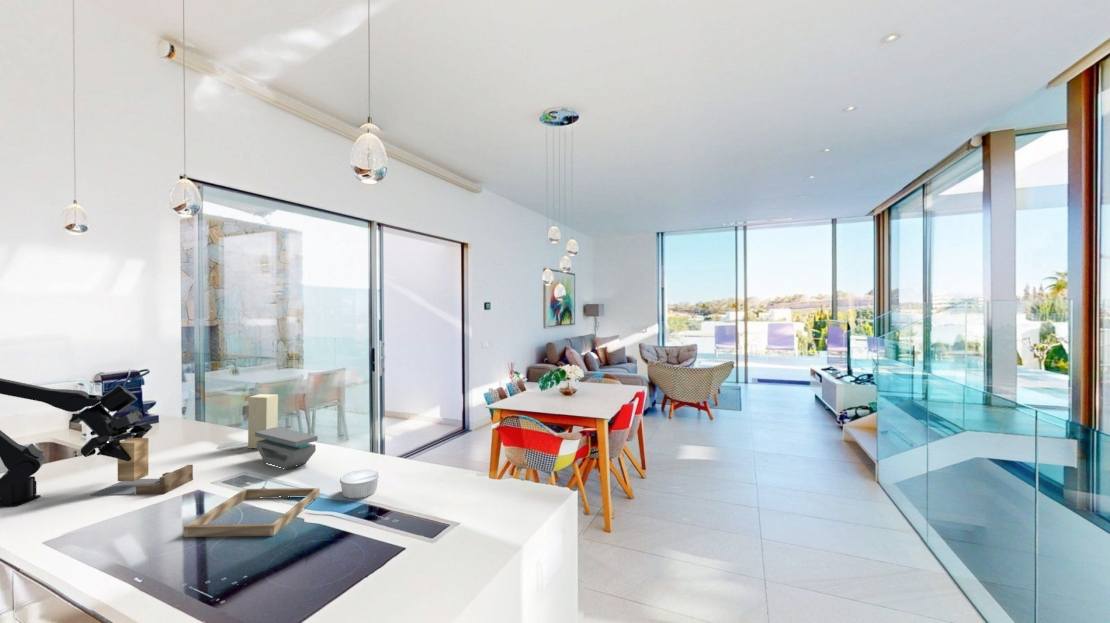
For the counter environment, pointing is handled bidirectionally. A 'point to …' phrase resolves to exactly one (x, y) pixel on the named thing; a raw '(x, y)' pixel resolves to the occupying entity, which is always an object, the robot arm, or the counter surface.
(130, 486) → the charcoal rubber mat
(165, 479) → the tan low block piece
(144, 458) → the teak block
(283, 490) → the oak frame
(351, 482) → the ramekin
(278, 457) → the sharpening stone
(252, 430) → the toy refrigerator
